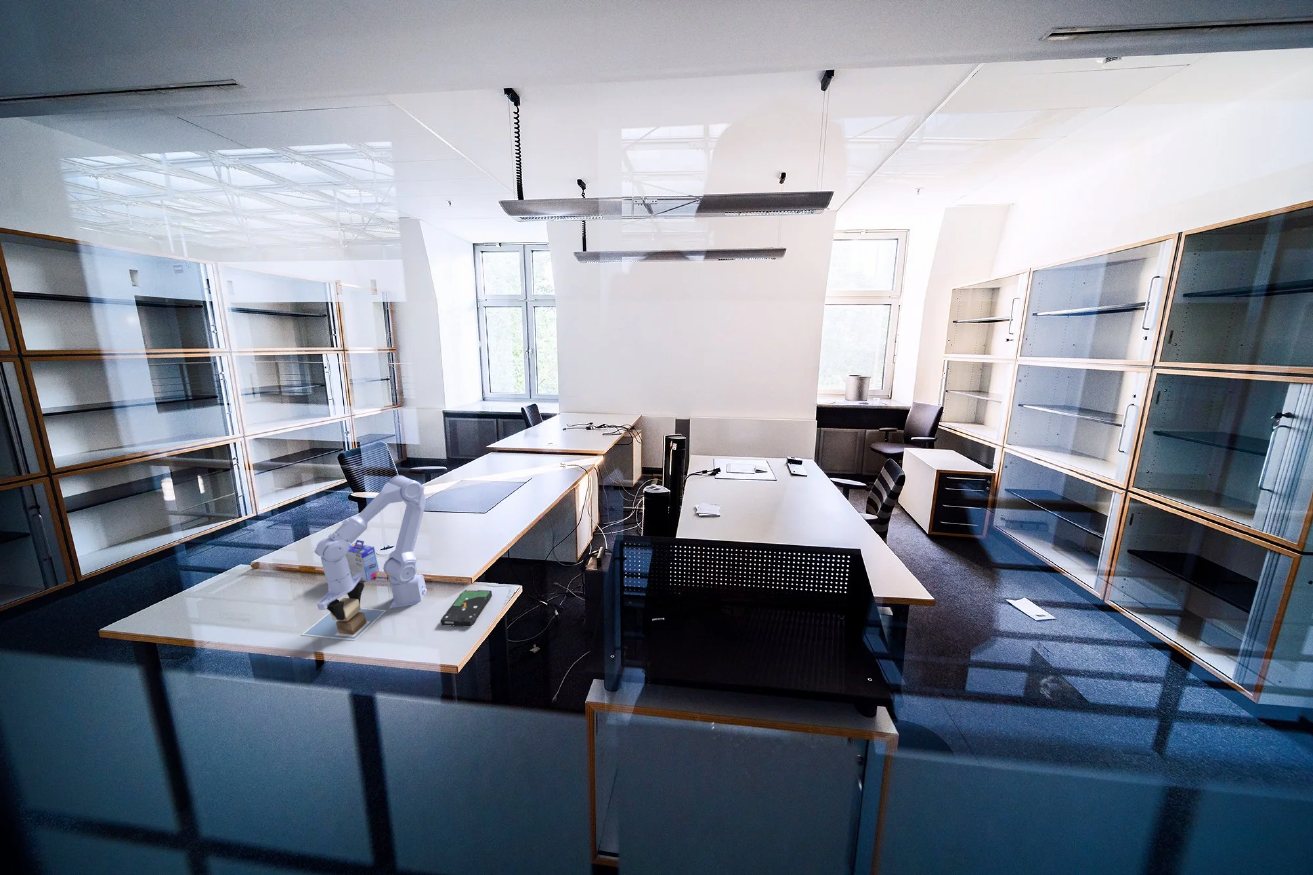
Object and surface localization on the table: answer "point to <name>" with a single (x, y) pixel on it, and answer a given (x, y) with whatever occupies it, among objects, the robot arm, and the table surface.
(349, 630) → the walnut block
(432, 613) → the table surface
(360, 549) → the ink cartridge box
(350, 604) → the maple block
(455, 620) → the disk drive
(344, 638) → the mat
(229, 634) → the table surface
